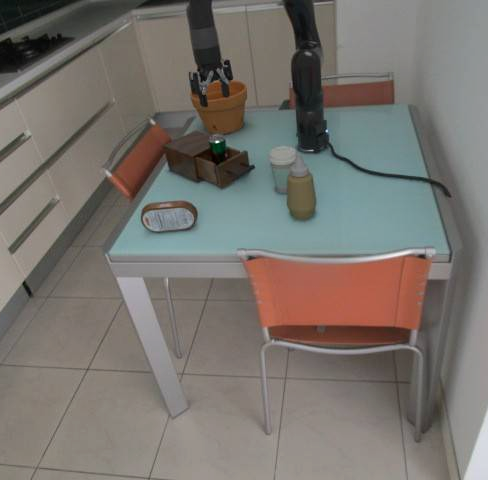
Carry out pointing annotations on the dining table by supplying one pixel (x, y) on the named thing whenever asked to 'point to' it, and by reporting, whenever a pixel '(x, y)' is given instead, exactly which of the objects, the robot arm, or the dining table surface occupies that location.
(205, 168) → the drawer
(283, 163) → the coffee cup
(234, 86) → the flower pot
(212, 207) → the dining table surface
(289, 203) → the squeeze bottle
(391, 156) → the dining table surface
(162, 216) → the tin
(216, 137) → the soda can
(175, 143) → the cabinet
